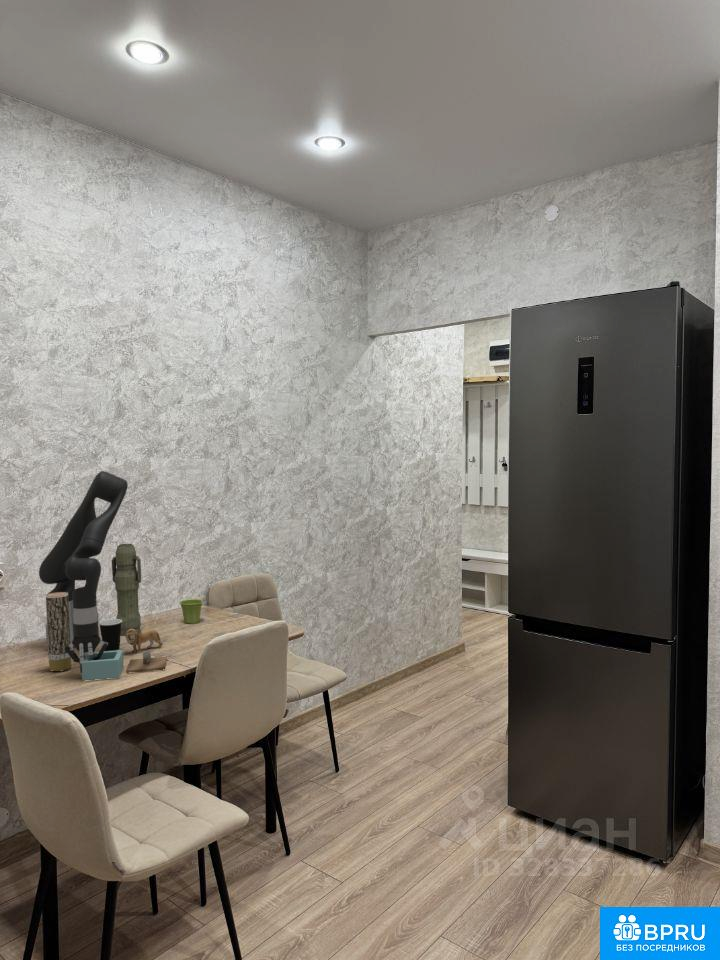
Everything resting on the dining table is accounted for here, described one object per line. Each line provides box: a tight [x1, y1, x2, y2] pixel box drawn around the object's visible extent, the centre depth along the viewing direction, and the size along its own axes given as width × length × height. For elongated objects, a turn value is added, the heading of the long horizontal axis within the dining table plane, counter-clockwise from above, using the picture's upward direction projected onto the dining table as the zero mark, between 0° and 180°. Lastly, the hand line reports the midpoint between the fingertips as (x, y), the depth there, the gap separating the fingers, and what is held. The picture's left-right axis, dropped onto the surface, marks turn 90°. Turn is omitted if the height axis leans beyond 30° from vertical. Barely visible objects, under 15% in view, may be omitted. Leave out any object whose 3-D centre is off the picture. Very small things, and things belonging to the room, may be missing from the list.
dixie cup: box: [98, 618, 122, 651], centre depth 251 cm, size 8×8×11 cm
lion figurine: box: [124, 629, 163, 654], centre depth 252 cm, size 15×5×9 cm, turn 142°
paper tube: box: [45, 592, 72, 672], centre depth 232 cm, size 7×7×25 cm
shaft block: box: [125, 651, 168, 674], centre depth 233 cm, size 12×12×4 cm
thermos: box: [111, 543, 142, 637], centre depth 276 cm, size 9×12×35 cm
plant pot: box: [179, 598, 204, 624], centre depth 291 cm, size 9×9×9 cm
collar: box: [81, 649, 125, 682], centre depth 225 cm, size 11×11×6 cm
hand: (87, 673), depth 225 cm, fingers closed on collar, 1 cm apart
